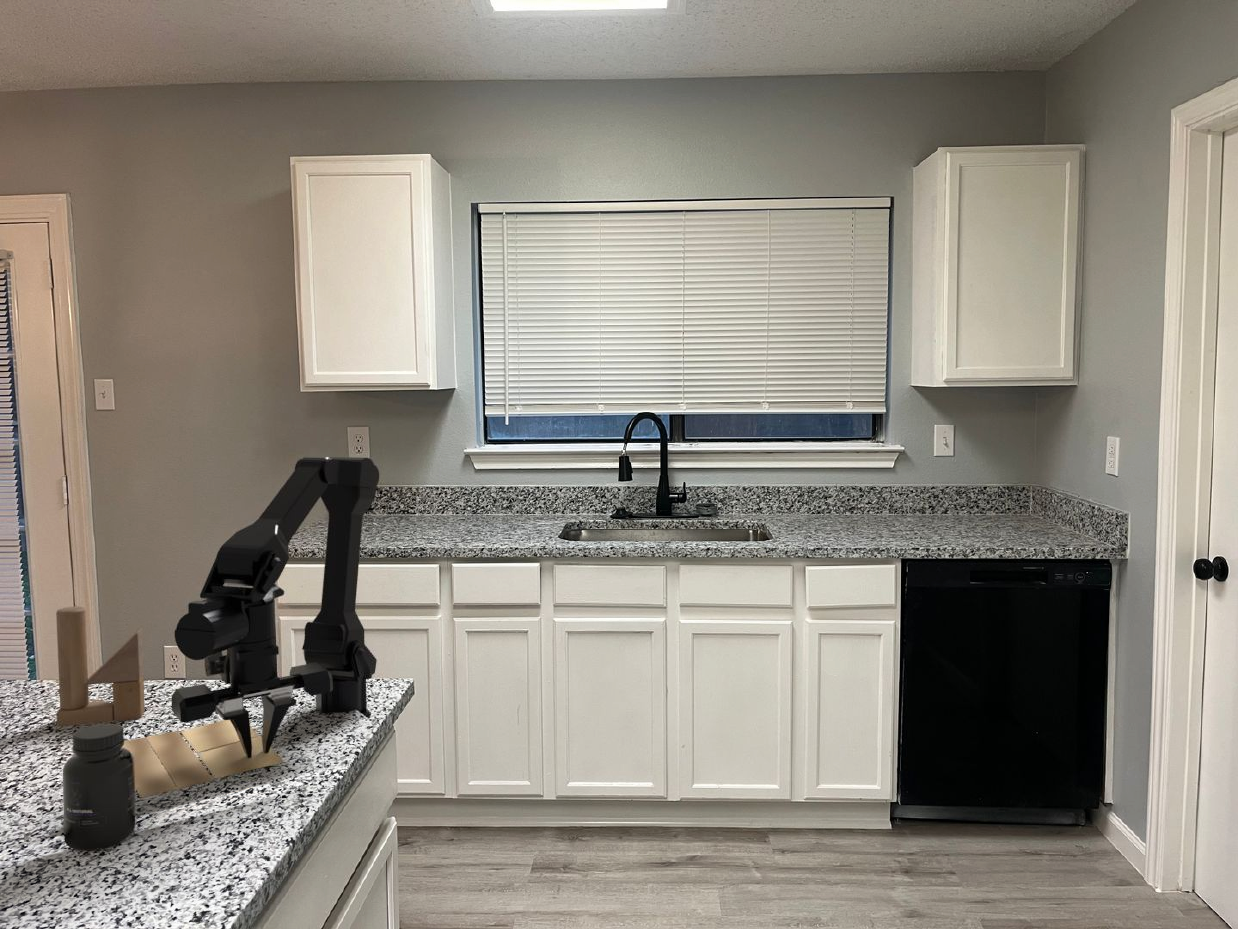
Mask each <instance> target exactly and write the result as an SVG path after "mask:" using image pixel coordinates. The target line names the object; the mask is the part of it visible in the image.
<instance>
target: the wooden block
mask: <svg viewBox="0 0 1238 929" xmlns="http://www.w3.org/2000/svg"><path fill="white" fill-rule="evenodd" d="M86 614H87V613H86V608H85V607H83V606H66V607H63V608H59V609H57V610H56V614H55V616H56V638H57V639H56V640H57V642H56V643H57V661H58V662H57V665H58V687H59V692H58V693H59V707H60V708H59V709H58V710H57V712H55V713H56V714H55V715H56V727H57V728H61V727H69V726H78V725H80V726H81V725H90V724H102V723H109V722H113V721H114V722H121V721H128V720H138V719H139V720H140V719H141V718H143V715H144V714H145V710H146V707H145V706H146V705H145V680H144V678H145V677H144V656H143V651H144V649H143V648H144V647H143V628H142V627H139V628H138V629H137V630H136V631H135V633H134V634H132V635H131V636H130V637H129V638H128V639H127V640H126V641H125V642H124V643H123V644H122V645H121V646H120V647H119V648H117V650H116V651H115V652H114V653H113V654H111V656H110V657H109V658H108V659H107V660H106V661H105V662H103V664H102V665H101V666H100V667H99V668H98V669H97V670H95V672H93V673H92V675H90V677H89V671H88V670H89V669H88V647H87V646H88V644H87V643H88V641H87V640H88V639H87V619H86V617H87V616H86ZM111 683H113V684H112V702H109V701H106V700H98V701H97V700H96V701H90V696H89V685H98V684H99V685H100V684H111Z"/></svg>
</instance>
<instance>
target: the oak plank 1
mask: <svg viewBox="0 0 1238 929" xmlns="http://www.w3.org/2000/svg"><path fill="white" fill-rule="evenodd" d="M250 731H251V738H255V737H258V736H260V735H259V734H258V732H256V731H255V730H254V729H253V728H252V726H250ZM180 734H181V735H182V736H183V738H185V739H186V742H188V744H189V745H190V746H191V747H192V750H194V752H196V754H198V753H202V752H205V751H209V750H212V749H216V748H219V747H223V746H226V745H230V744H233V743H237V742H240V740H239V737H238V735H237V733H236V730H235V728H234V726H233V724H232V723H231V721H230V720H223V719H222V720H220V721H215V722H211V723H207V724H204V725H201V726H200V725H199V726H197V727H192V728H188V729H184V730H181V731H180Z"/></svg>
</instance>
